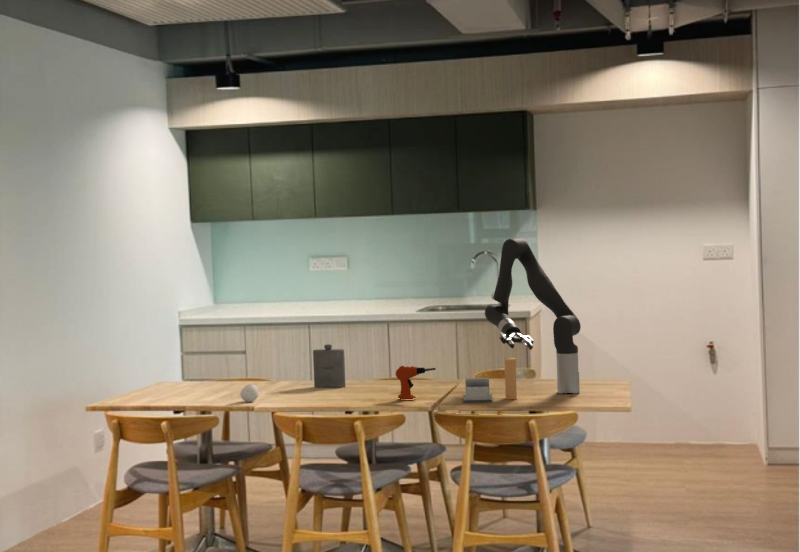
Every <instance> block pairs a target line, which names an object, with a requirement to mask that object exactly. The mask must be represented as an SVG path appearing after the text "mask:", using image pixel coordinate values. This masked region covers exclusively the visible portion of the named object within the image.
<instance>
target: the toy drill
mask: <svg viewBox="0 0 800 552" xmlns="http://www.w3.org/2000/svg"><path fill="white" fill-rule="evenodd" d="M436 370H437V368H436V367H430V368H428V367H427V368H425V367H423V366H422V367H418V366H413V365H412V366H404V365H401V366H399V367H398V368H397V369H396V371H395V376H396V378H397V379H398V380H399V382H400V394H398V396H397V399H398V398H400V399H413V398H416V396H415V395H413V394H412V393H411V389H412V388H413V387H414V383H413V382H412V380H411V379H412V378H414V377H416V376H419V375H421V374H425V372H429V371H436Z"/></svg>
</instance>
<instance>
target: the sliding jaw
mask: <svg viewBox="0 0 800 552" xmlns="http://www.w3.org/2000/svg"><path fill="white" fill-rule="evenodd" d="M465 387H489V388H490V377H469V378H468V377H465Z"/></svg>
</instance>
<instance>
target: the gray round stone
mask: <svg viewBox="0 0 800 552" xmlns="http://www.w3.org/2000/svg"><path fill="white" fill-rule="evenodd" d="M239 395H240V398H241V399H242V400H243V401H244V402H247V403H252V402H254V401H256V400H257V399H258V397H259V389H258V387H257V386H256V385H255V384H250V383H249V384H246V385H245V386H244V387H243V388H242V389H241V391H240V393H239Z"/></svg>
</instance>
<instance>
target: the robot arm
mask: <svg viewBox="0 0 800 552" xmlns="http://www.w3.org/2000/svg"><path fill="white" fill-rule="evenodd" d="M500 253H501V254H500V261H499V263H500V264H499V272H498V277H497V282H496V286H495V289H494V293H493V300H494V301H496V302H497V303H499V304H500V305H496V304H490V305H487V306H486V308H485V309H484V317H485V318H486V320H487V321H489V323H491V324H492V325H494V326H496V328H497V329H498V331H499V333H500V334H499V338H498V339H500V342H501V343H502V344H505V345H507V346H509V347H510V348H511V349H514V347H515V343H518V344H520V345H522V346H527V348H528V350H530V351H532V350H533V348H534V343H535V342H534V341H535V340H534V339H533V338H532V337H531V335H529V334H526V335H523V334H522V331H521V329H520V328H519V327H518V325H517V324H516V322H514V321H513V320H512V319H511V317H510V316H509V303H510V302H509V300H510V296H511V292H512V288H513V275H512V269H513V265H514V262H515V260H518V261H519V262H520V264H521V265H522V267H523V268H524V271H525V273H526V279H527V280H526V281H527V284H528V287H529V288H530V290H531V292H532V294H533V295H534V296H535V298H537V300H538V302H540V303H542V305H544V306H545V307H546V308H548V309H549V310H550V311H551V312H552V313H553V315H554V316H555V317H556V319H555V320H554V322H553V326H552V327H553V328H552V330H553V344H554V348H555V350H556V351H555V352H556V353H555V355H556V386H557V387H556V388H557V393H558V394H563V393H565V394H566V393H573V394H579V392H580V388H581V387H580V370H579V348H578V345H576V344H575V343H574V336H577V335H578V334H579V333H580V332H581V322H580V320H579V319H578V317H577V316H576V314H575V313H574V312H573V311H572V310H571V308H570V307H569V306H568V304H567V303H566V302H565V301H564V299H563V298H562V296H561V294H560V293H559V291H558V290H557V289H556V287H555V285H554V283H553V282H552V281H551V279H550V278H549V276H548V275H547V273H546V272H545V270H544V269H543V268H542V266H541V265H540V263H539V261H538V259H537V258H536V256H535V254H534V253H533V250H532V249H531V246H530V245H529V243H528V242H527V240H525V239H524V238H521V237H513V238H507V239H506V240H505V241H503V244H502V248H501V252H500ZM565 394H564V395H565Z"/></svg>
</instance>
